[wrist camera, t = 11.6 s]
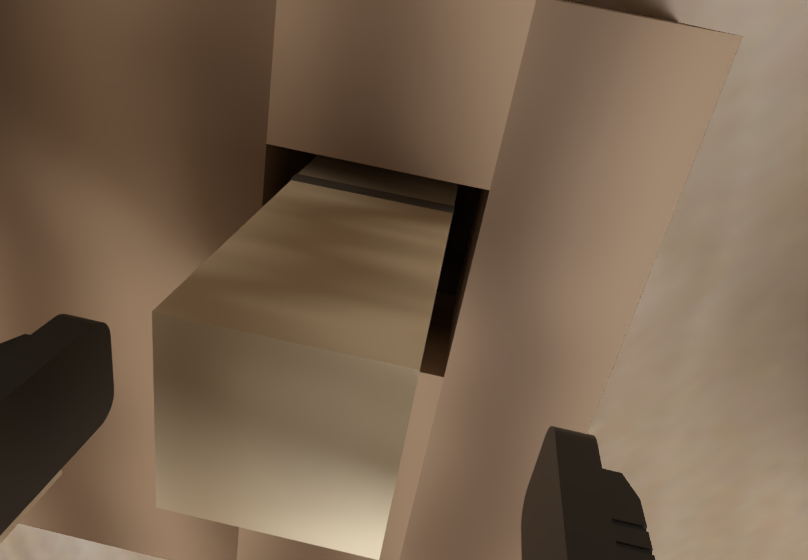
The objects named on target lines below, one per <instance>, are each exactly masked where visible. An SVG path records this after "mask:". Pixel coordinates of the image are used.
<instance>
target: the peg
mask: <svg viewBox="0 0 808 560" xmlns="http://www.w3.org/2000/svg"><path fill="white" fill-rule="evenodd" d="M457 189H458V184H457V183H452V182H447V181H442V180H437V179H433V178H428V177H423V176H418V175H413V174H409V173H404V172H399V171H394V170H390V169H385V168H380V167H375V166H370V165H366V164H361V163H356V162H351V161H346V160H342V159H337V158H332V157H327V156H323V155H317V156H316V157H315V158H314V159H313V160H312V161H311V162H310V163H309V164H308V165H307V166H306V167H305V168H304V169H302V170H301V171H300V172H299V173H298V174H295V175H294V176H293V177H292V178H291V179H290V182H289V183H288V184H287V185H285V186H284V187H283V188H282V189H281V190H280V191H279V192H278V193H277V194H276V195H275V196H274V197H273V198H272V199H271V200H270V201H269V202H267V203H266V204H265V205H264V206H263V207H262V208H261V209H260V210H259V211H258V212H257V213H256V214H255V215H254V216H253V217H252V218H250V219H249V220H248V221H247V222H246V223H245V224H244V225H243V226H242V227H241V228H240V229H239V230H238V231H237V232H236V233H235V234H233V235H232V236H231V237H230V238H229V239H228V240H227V241H226V242H225V243H224V244H223V245H222V246H221V247H220V248H219V249H218V250H217V251H215V252H214V253H213V254H212V255H211V256H210V257H209V258H208V259H207V260H206V261H205V262H204V263H203V264H202V265H201V266H200V267H198V268H197V269H196V270H195V271H194V272H193V273H192V274H191V275H190V276H189V277H188V278H187V279H186V280H185V281H184V282H183V283H182V284H180V285H179V286H178V287H177V288H176V289H175V290H174V291H173V292H172V293H171V294H170V295H169V296H168V297H167V298H166V299H165V300H163V301H162V302H161V303H160V304H159V305H158V306H157V307H156V308H155V309H154V310H153V311H152V338H153V384H154V430H155V476H156V508H160V509H165V510H169V511H173V512H177V513H182V514H186V515H190V516H194V517H198V518H203V519H207V520H211V521H215V522H220V523H224V524H228V525H232V526H236V527H241V528H245V529H249V530H253V531H258V532H262V533H266V534H270V535H274V536H279V537H283V538H287V539H291V540H296V541H300V542H304V543H308V544H312V545H317V546H321V547H325V548H329V549H334V550H338V551H342V552H346V553H350V554H355V555H359V556H363V557H367V558H372V559H376V560H379V559H380V554H381V549H382V545H383V540H384V535H385V531H386V526H387V521H388V517H389V512H390V507H391V503H392V498H393V493H394V489H395V484H396V479H397V475H398V470H399V465H400V461H401V456H402V451H403V447H404V442H405V437H406V433H407V428H408V423H409V419H410V414H411V409H412V404H413V400H414V395H415V390H416V386H417V381H418V376H419V372H420V367H421V362H422V357H423V353H424V348H425V343H426V338H427V334H428V329H429V324H430V320H431V315H432V310H433V306H434V301H435V296H436V292H437V287H438V282H439V278H440V273H441V268H442V264H443V259H444V254H445V250H446V245H447V240H448V236H449V231H450V226H451V222H452V217H453V212H454V207H455V206H454V203H455V198H456V194H457Z"/></svg>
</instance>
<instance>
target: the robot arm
mask: <svg viewBox="0 0 808 560" xmlns="http://www.w3.org/2000/svg"><path fill="white" fill-rule="evenodd" d="M113 399H114V379H113V363H112V347H111V334H110V329H109V327H108V325H107V324H106V323H104V322H100V321H95V320H91V319H86V318H82V317H78V316H73V315H69V314H59V315H57V316H55V317H54V318H52V319H51V320H50V321H48V322H47V323H46V324H44V325H43V326H42V327H40V328H39V329H38V330H36V331H35V332H34V333H32V334H31V335H29V334H23V335H20V336H18V337H15V338H13V339H10V340H8V341H5V342H3V343H0V535H1V534H2V533H3V532H4V531H5V530H6V529H7V528H8V527H9V526H10V524H11V523H12V522H13V521H14V520H15V519H16V518H17V517H18V516H19V515H20V514H21V512H22V511H23V510H24V509H25V508H26V507H27V506H28V505H29V504H30V503H31V502H32V501H33V499H34V498H35V497H36V496H37V495H38V494H39V493H40V492H41V491H42V490H43V489H44V487H45V486H46V485H47V484H48V483H49V482H50V481H51V480H52V479H53V478H54V477H55V475H56V474H57V473H58V472H59V471H60V470H61V469H62V468H63V467H64V466H65V465H66V463H67V462H68V461H69V460H70V459H71V458H72V457H73V456H74V455H75V454H76V453H77V451H78V450H79V449H80V448H81V447H82V446H83V445H84V444H85V443H86V442H87V441H88V439H89V438H90V437H91V436H92V435H93V434H94V433H95V432H96V431H97V430H98V429H99V427H100V426H101V425H102V424H103V423H104V421H105V420H106V418H107V416H108V414H109V412H110V409H111V407H112V403H113ZM646 528H647V525H646V521H645V517H644V513H643V509H642V505H641V501H640V499H639V497H638V496H637V494H636V493H635V491H634V490H633V489H632V487H631V486H630V484H629V483H628V481H627V480H626V479H625V477H624V476H623V474H622V473H619V472H615V471H610V470H606V469H602V465H601V460H600V455H599V449H598V444H597V440H596V438H595V436H593V435H589V434H585V433H581V432H576V431H572V430H567V429H563V428H559V427H554V426H550V427H549V429H548V430H547V433H546V435H545V438H544V441H543V444H542V447H541V450H540V452H539V455H538V458H537V461H536V464H535V467H534V470H533V473H532V476H531V479H530V482H529V484H528V487H527V491H526V494H525V498H524V503H523V509H522V517H521V554H522V560H655V557H654V555H652V550H653V549H652V545H651V541H650V537H649V533H648V532H646Z"/></svg>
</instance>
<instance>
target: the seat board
mask: <svg viewBox="0 0 808 560" xmlns="http://www.w3.org/2000/svg"><path fill="white" fill-rule="evenodd" d="M742 37H743V36H738V35H734V34H729V33H724V32H720V31H715V30H711V29H706V28H702V27H697V26H693V25H688V24H684V23H679V22H674V21H669V20H663V19H658V18H653V17H648V16H643V15H637V14H632V13H627V12H622V11H617V10H611V9H606V8H601V7H596V6H591V5H585V4H580V3H575V2H570V1H565V0H0V343H3V342H5V341H8V340H10V339H13V338H15V337H18V336H20V335H23V334H29V335H31V334H32V333H34V332H35V331H36V330H38V329H39V328H40V327H42V326H43V325H44V324H46V323H47V322H48V321H50V320H51V319H52V318H54V317H55V316H57V315H59V314H69V315H73V316H78V317H82V318H86V319H91V320H95V321H100V322H104V323H106V324H107V325H108V327H109V329H110V334H111V347H112V363H113V379H114V399H113V403H112V407H111V409H110V412H109V414H108V416H107V418H106V420H105V421H104V423H103V424H102V425H101V426H100V427H99V429H98V430H97V431H96V432H95V433H94V434H93V435H92V436H91V437H90V438H89V439H88V441H87V442H86V443H85V444H84V445H83V446H82V447H81V448H80V449H79V450H78V451H77V453H76V454H75V455H74V456H73V457H72V458H71V459H70V460H69V461H68V462H67V463H66V465H65V466H64V467H63V468H62V469H61V470H60V471H59V472H58V473H57V474H56V475H55V477H54V478H53V479H52V480H51V481H50V482H49V483H48V484H47V485H46V486H45V487H44V489H43V490H42V491H41V492H40V493H39V494H38V495H37V496H36V497H35V498H34V499H33V501H32V502H31V503H30V504H29V505H28V506H27V507H26V508H25V509H24V510H23V511H22V512H21V514H20V515H19V516H18V517H17V518H16V519H15V520H14V521H13V522H12V523H11V524H10V526H9V527H8V528H7V529H6V530H5V531H4V532H3V533H2V534H1V535H0V543H1V542H2V541H3V540H4V539H5V538H6V537H7V535H8V534H9V533H10V532H11V531H12V530H13V529H14V528H15V526H16V525H17V524H18V523H20V524H24V525H28V526H32V527H36V528H40V529H44V530H48V531H52V532H56V533H61V534H65V535H69V536H73V537H77V538H81V539H85V540H89V541H93V542H97V543H101V544H105V545H109V546H114V547H118V548H122V549H126V550H130V551H134V552H138V553H142V554H146V555H150V556H154V557H158V558H163V559H167V560H376V559H372V558H367V557H363V556H359V555H355V554H350V553H346V552H342V551H338V550H334V549H329V548H325V547H321V546H317V545H312V544H308V543H304V542H300V541H296V540H291V539H287V538H283V537H279V536H274V535H270V534H266V533H262V532H258V531H253V530H249V529H245V528H241V527H236V526H232V525H228V524H224V523H220V522H215V521H211V520H207V519H203V518H198V517H194V516H190V515H186V514H182V513H177V512H173V511H169V510H165V509H160V508H156V476H155V430H154V384H153V338H152V311H153V310H154V309H155V308H156V307H157V306H158V305H159V304H160V303H161V302H162V301H163V300H165V299H166V298H167V297H168V296H169V295H170V294H171V293H172V292H173V291H174V290H175V289H176V288H177V287H178V286H179V285H180V284H182V283H183V282H184V281H185V280H186V279H187V278H188V277H189V276H190V275H191V274H192V273H193V272H194V271H195V270H196V269H197V268H198V267H200V266H201V265H202V264H203V263H204V262H205V261H206V260H207V259H208V258H209V257H210V256H211V255H212V254H213V253H214V252H215V251H217V250H218V249H219V248H220V247H221V246H222V245H223V244H224V243H225V242H226V241H227V240H228V239H229V238H230V237H231V236H232V235H233V234H235V233H236V232H237V231H238V230H239V229H240V228H241V227H242V226H243V225H244V224H245V223H246V222H247V221H248V220H249V219H250V218H252V217H253V216H254V215H255V214H256V213H257V212H258V211H259V210H260V209H261V208H262V207H263V206H264V205H265V204H266V203H267V202H269V201H270V200H271V199H272V198H273V197H274V196H275V195H276V194H277V193H278V192H279V191H280V190H281V189H282V188H283V187H284V186H285V185H287V184H288V183H289V182H290V179H291V178H292V177H293V176H294V175H295V174H298V173H299V172H300V171H301V170H302V169H304V168H305V167H306V166H307V165H308V164H309V163H310V162H311V161H312V160H313V159H314V157H315V154H318V155H323V156H327V157H332V158H337V159H342V160H346V161H351V162H356V163H361V164H366V165H370V166H375V167H380V168H385V169H390V170H394V171H399V172H404V173H409V174H413V175H418V176H423V177H428V178H433V179H437V180H442V181H447V182H452V183H457V184H461V185H466V186H471V187H476V188H480V189H481V191H480V195H479V199H478V203H477V208H476V212H475V216H474V220H473V224H472V229H471V233H470V237H469V241H468V245H467V250H466V254H465V258H464V262H463V266H462V271H461V275H460V279H459V283H458V288H457V292H456V296H453V295H448V294H443V293H439V292H436V296H435V301H434V306H433V310H432V315H431V320H430V324H429V329H428V334H427V338H426V343H425V348H424V353H423V357H422V362H421V367H420V372H419V376H418V381H417V386H416V390H415V395H414V400H413V404H412V409H411V414H410V419H409V423H408V428H407V433H406V437H405V442H404V447H403V451H402V456H401V461H400V465H399V470H398V475H397V479H396V484H395V489H394V493H393V498H392V503H391V507H390V512H389V517H388V521H387V526H386V531H385V535H384V540H383V545H382V549H381V554H380V559H379V560H522V554H521V517H522V509H523V503H524V498H525V494H526V491H527V487H528V484H529V482H530V479H531V476H532V473H533V470H534V467H535V464H536V461H537V458H538V455H539V452H540V450H541V447H542V444H543V441H544V438H545V435H546V433H547V430H548V429H549V427H550V426H554V427H559V428H563V429H567V430H572V431H576V432H581V433H585V434H587V433H588V430H589V428H590V425H591V423H592V420H593V417H594V415H595V412H596V410H597V407H598V405H599V402H600V400H601V397H602V395H603V392H604V389H605V387H606V384H607V382H608V379H609V377H610V374H611V372H612V369H613V366H614V364H615V361H616V359H617V356H618V354H619V351H620V349H621V346H622V343H623V341H624V338H625V336H626V333H627V331H628V328H629V326H630V323H631V320H632V318H633V315H634V313H635V310H636V308H637V305H638V303H639V300H640V298H641V295H642V292H643V290H644V287H645V285H646V282H647V280H648V277H649V275H650V272H651V269H652V267H653V264H654V262H655V259H656V257H657V254H658V252H659V249H660V246H661V244H662V241H663V239H664V236H665V234H666V231H667V229H668V226H669V223H670V221H671V218H672V216H673V213H674V211H675V208H676V206H677V203H678V201H679V198H680V195H681V193H682V190H683V188H684V185H685V183H686V180H687V178H688V175H689V172H690V170H691V167H692V165H693V162H694V160H695V157H696V155H697V152H698V149H699V147H700V144H701V142H702V139H703V137H704V134H705V132H706V129H707V126H708V124H709V121H710V119H711V116H712V114H713V111H714V109H715V106H716V104H717V101H718V98H719V96H720V93H721V91H722V88H723V86H724V83H725V81H726V78H727V75H728V73H729V70H730V68H731V65H732V63H733V60H734V58H735V55H736V52H737V50H738V47H739V45H740V42H741V40H742Z"/></svg>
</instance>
